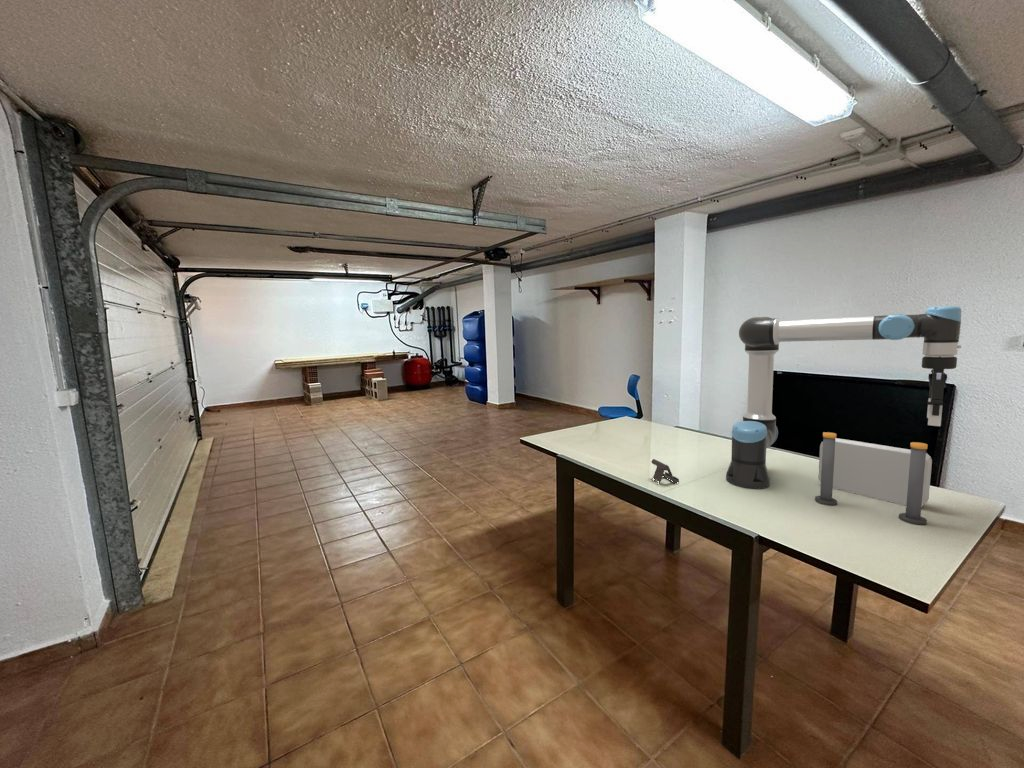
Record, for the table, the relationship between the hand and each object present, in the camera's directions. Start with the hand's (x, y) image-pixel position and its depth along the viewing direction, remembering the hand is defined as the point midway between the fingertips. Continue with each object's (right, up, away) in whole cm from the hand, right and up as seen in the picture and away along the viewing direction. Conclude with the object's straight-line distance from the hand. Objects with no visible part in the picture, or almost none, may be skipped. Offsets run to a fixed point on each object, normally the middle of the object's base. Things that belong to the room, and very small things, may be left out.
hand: (933, 421), depth 127 cm
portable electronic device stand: (-74, -28, +33) cm, 86 cm away
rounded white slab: (-9, -27, +13) cm, 32 cm away
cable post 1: (-28, -29, +8) cm, 41 cm away
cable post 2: (-13, -30, -6) cm, 33 cm away
